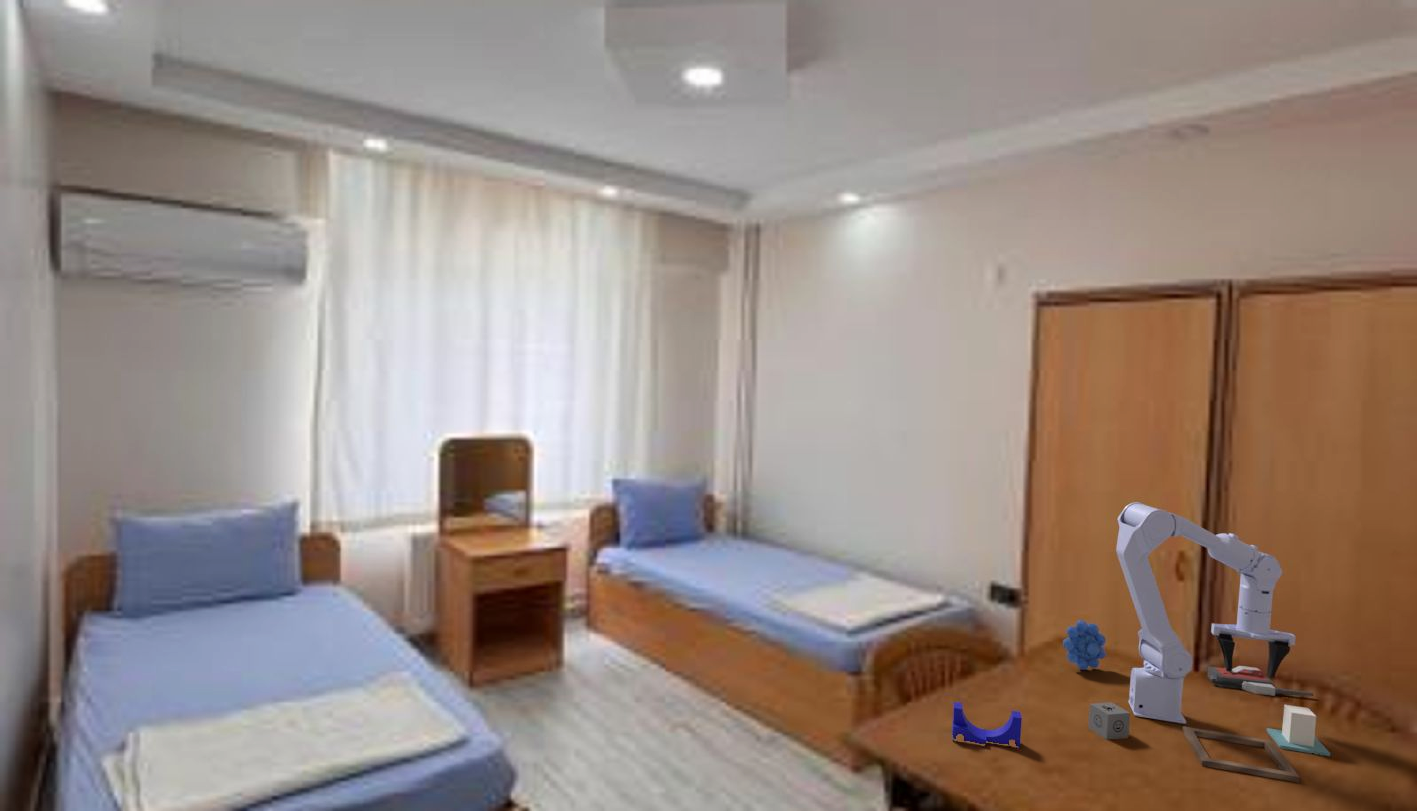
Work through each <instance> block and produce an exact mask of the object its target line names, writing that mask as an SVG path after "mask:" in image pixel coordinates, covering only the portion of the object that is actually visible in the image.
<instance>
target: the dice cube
mask: <svg viewBox="0 0 1417 811" xmlns="http://www.w3.org/2000/svg"><path fill="white" fill-rule="evenodd" d="M1088 712H1089V714H1088V724H1087V725H1088V727H1087V728H1088V729H1089V730H1091V731H1092V732H1094V733H1095V734H1097V735H1099V736H1100V737H1102V738H1103V739H1105V740H1116V739H1117V740H1119V739H1127V738H1129V733H1130V732H1129V731H1130V717H1131V712H1129V711H1127V710H1126V709H1124V708H1122V707H1121V706H1119V705H1117V704H1115V703H1114V702H1111V701H1109V702H1095V703H1089V711H1088Z"/></svg>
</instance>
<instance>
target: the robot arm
mask: <svg viewBox="0 0 1417 811" xmlns="http://www.w3.org/2000/svg"><path fill="white" fill-rule="evenodd" d="M1117 523H1118V526H1119V527H1118V528H1119V529H1118V533H1117V541H1116V548H1115V550H1116V555H1117V559H1118V561H1119V564H1120V568H1121V570H1122V572H1123V573H1122V574H1123V576H1124V578H1125V583H1126V586H1127V588H1128V590H1129V594H1130V596H1131V597H1130V598H1131V600H1132V603H1133V605H1134V609H1135V612H1136V615H1137V617H1138V618H1137V619H1138V621H1139V624H1140V627H1141V628H1140V630H1138V632H1137V635H1138V640H1139V643H1138V653H1139V655H1140V657H1141V658H1142V659H1143V667H1132V669H1131V672H1130V683H1129V694H1128V696H1129V697H1128V701H1127V702H1128V704H1129V706H1130V708H1131V712H1133V715H1134V716H1135V717H1140V718H1146V719H1147V718H1148V719H1153V720H1158V721H1165V722H1170V723H1177V724H1184V725H1186V724H1187V720H1186V718H1185V717H1184V715H1183V714H1182V701H1183V700H1182V699H1183V687H1184V680H1185V677H1186V676H1187V675H1188V674H1189V673H1190V671H1191V670H1192V667H1193V657H1192V655H1191V653H1190V652H1189V650H1187V649H1186V648H1185V646H1184V645H1183V642H1182V639H1180V637H1179V636H1178V635H1177V633H1176V632H1175V631H1174V629H1173V627H1172V626H1171V623H1170V620H1169V618H1168V615H1167V611H1166V608H1165V605H1164V602H1163V599H1162V596H1161V593H1160V590H1159V588H1158V584H1157V581H1156V578H1155V575H1154V572H1153V569H1152V566H1151V564H1150V560H1149V556H1150V554H1151V553H1152V552H1153V551H1154V550H1156V549H1158V547H1159V546H1161V545H1162V543H1164V542H1165V541H1166V540H1168V539H1169V538H1170V537H1173V538H1177V537H1178V536H1181V537H1182V538H1184V539H1187V540H1189V541H1192V542H1194V543H1195V544H1198V545H1200V546H1202V547H1204V548H1206V549H1207V553H1208V555H1209V556H1210V558H1212V559H1214V560H1216V561H1218V562H1220V563H1222V564H1224V565H1226V566H1227V567H1229V568H1231V569H1233V570H1235V571H1236V572H1237V573H1238V574H1239V575H1240V580H1239V591H1238V592H1239V593H1238V604H1237V617H1236V618H1237V619H1236V624H1226V623H1225V624H1223V623H1213V622H1212V623H1211V628H1210V629H1211V630H1210V633H1211V634H1212V635H1213V636H1215V637H1216V639H1217V642H1218V643H1219V646H1220V649H1221V653H1222V657H1223V661H1224V662H1223V663H1224V668H1225V669H1226V670H1227V671H1228V672H1232V669H1233V657H1234V656H1233V655H1234V650H1235V646H1236V643H1235V641H1234V638H1240V639H1241V638H1242V639H1249V640H1250V639H1251V640H1256V641H1263V642H1264V641H1265V642H1267V643H1268V660H1267V671H1266V672H1267V673H1266V674H1267V676H1268V677H1270V679H1271V678H1272V679H1275V677H1276V674H1277V671H1278V669H1279V667H1280V665H1281V663H1282V662H1283V660H1284V659H1285V658H1286V656H1287V655H1288V654H1289V653H1290V652H1291V647H1290V646H1296V635H1294V634H1293V633H1290V632H1283V631H1280V630H1279V631H1278V630H1274V629H1271V619H1272V607H1273V606H1272V605H1273V595H1274V594H1273V593H1274V589H1275V588H1276V583H1277V581H1278V580H1279V579H1280V578H1281V576H1282V574H1283V568H1281V565H1280V562H1279V561H1278V559H1277V558H1276V557H1275V556H1273V555H1271V554H1268V553H1264V552H1262V551H1259V547H1258V546H1257V545H1253V544H1250V545H1249V544H1247V543H1245V542H1244V541H1242V540H1240V539H1239V538H1240V536H1238V535H1236V534H1234V533H1231V532H1229V533H1228V534H1227V533H1226V532H1225V533H1218V534H1214V533H1213V532H1211V531H1210V530H1207V529H1205V528H1203V527H1202V526H1200V525H1198V524H1196V523H1195V522H1192V521H1191V520H1189V519H1187V518H1185V517H1183V516H1181V515H1178V514H1175V513H1172V512H1168V511H1167V510H1164V509H1160V508H1159V509H1158V508H1156V507H1153V506H1150V505H1146V504H1145V503H1142V502H1138V501H1137V502H1136V501H1134V502H1131V503H1129V504H1127V505H1126V506H1125V507H1124V508H1123V510H1122V511H1121V512H1120V514H1119V515H1118V517H1117ZM1233 637H1234V638H1233Z"/></svg>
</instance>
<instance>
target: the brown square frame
mask: <svg viewBox="0 0 1417 811" xmlns="http://www.w3.org/2000/svg"><path fill="white" fill-rule="evenodd" d="M1182 733H1183V735H1184V736H1185V737H1184V738H1186V741H1188V743H1189V746H1190V747H1191V749H1192V751H1193V753H1194V754H1195V756H1196V758H1197V759H1198V762H1199V763H1200V765H1201V766H1202V767H1208V768H1213V769H1218V770H1224V771H1230V772H1236V773H1243V774H1246V775H1247V774H1248V775H1253V776H1260V777H1265V778H1270V779H1276V780H1282V781H1286V782H1293V783H1298V784H1299V783H1300V780H1301V778H1300V776H1299V774H1298V773H1297V772H1296V770H1295V769H1294V768H1293V767H1292V766H1291V764H1290V763H1289V761H1288V760H1287V759H1286V758H1285V757H1284V755H1283V754H1282V753H1281V752H1280V750H1279V748H1277V746H1276V745H1275V744H1274V743H1273V741H1272V740H1270V739H1264V738H1263V739H1262V738H1257V737H1252V736H1251V737H1250V736H1246V735H1239V734H1232V733H1227V732H1220V731H1216V730H1215V731H1214V730H1208V729H1202V728H1196V727H1189V726H1182ZM1198 737H1199V738H1205V739H1211V740H1216V741H1223V742H1230V743H1234V744H1239V745H1246V746H1247V745H1248V746H1253V747H1258V748H1259V747H1260V748H1264V750H1265V751H1266V753H1267V754H1268V755H1269V756H1270V758H1271V759H1272V760H1273V761H1274V763H1275V764H1276V766H1277V767H1278V768H1279V769H1274V768H1268V767H1264V766H1259V765H1258V766H1257V765H1252V764H1245V763H1239V762H1234V761H1230V760H1229V761H1228V760H1223V759H1218V758H1217V759H1216V758H1212V757H1209V755H1208V753H1207V751H1206V750H1205V748H1204V746H1203V745H1202V743H1201V742H1200V739H1199V738H1198Z"/></svg>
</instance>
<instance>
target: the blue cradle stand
mask: <svg viewBox="0 0 1417 811" xmlns="http://www.w3.org/2000/svg"><path fill="white" fill-rule="evenodd" d="M1022 719H1023V717H1022V714H1021V711H1018V710H1017V711H1015V710H1011V714H1010V717H1009V719H1008V720H1007V721H1006V723H1005V724H1003V725H1002V726H1000V727H999V728H995V729H983V728H980V727H978V726H976V725H974V724H973V723H972V722H971V721H969V719H968V718H967V717H966V715H965V713H964V709H963V702H957V701H953V711H952V729H951V736H952V735H953V738H954V739H956V736H957V735H958V734H962V735H963V736H964V741H970V742H975V743H979V744H986V741H988V742H993V743H999V744H1008V745H1009V740H1015V744H1016V746H1018V747H1020V748H1021V733H1022V721H1023V720H1022ZM986 745H987V744H986Z"/></svg>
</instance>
